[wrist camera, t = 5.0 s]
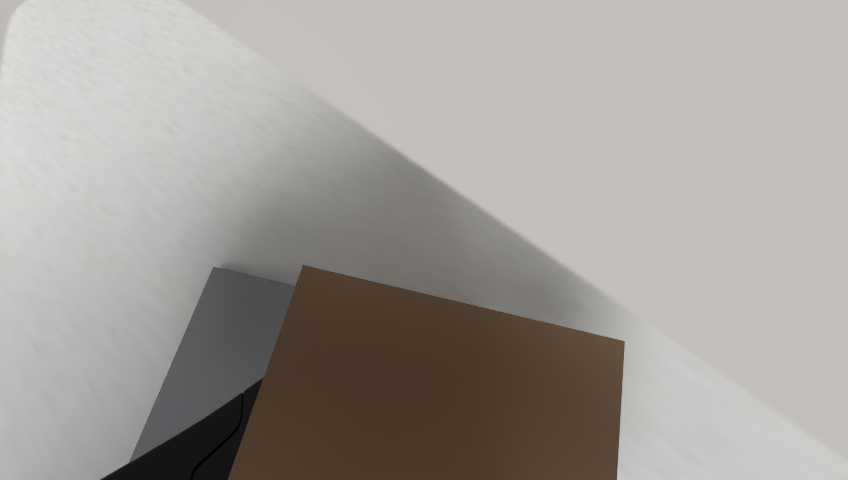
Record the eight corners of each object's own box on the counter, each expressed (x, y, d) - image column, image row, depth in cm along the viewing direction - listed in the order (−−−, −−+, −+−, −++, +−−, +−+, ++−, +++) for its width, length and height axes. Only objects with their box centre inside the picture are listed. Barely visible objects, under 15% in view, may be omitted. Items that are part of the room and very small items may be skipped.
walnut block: (461, 438, 14) (596, 831, 3) (367, 412, 15) (159, 677, 3) (480, 338, 16) (624, 341, 4) (392, 316, 16) (302, 265, 4)
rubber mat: (270, 565, 13) (263, 575, 13) (115, 517, 14) (102, 525, 13) (349, 300, 16) (346, 299, 16) (220, 269, 17) (213, 266, 16)
